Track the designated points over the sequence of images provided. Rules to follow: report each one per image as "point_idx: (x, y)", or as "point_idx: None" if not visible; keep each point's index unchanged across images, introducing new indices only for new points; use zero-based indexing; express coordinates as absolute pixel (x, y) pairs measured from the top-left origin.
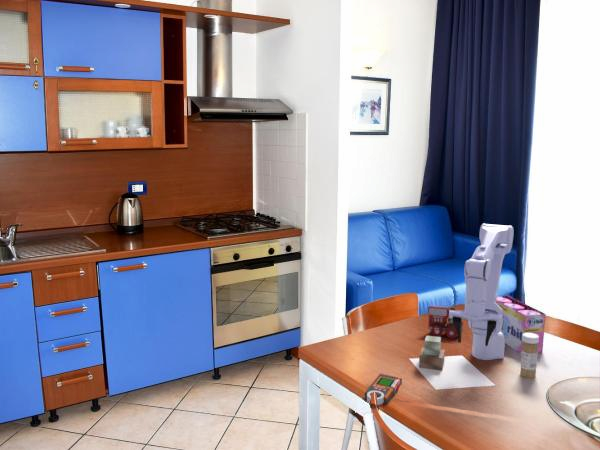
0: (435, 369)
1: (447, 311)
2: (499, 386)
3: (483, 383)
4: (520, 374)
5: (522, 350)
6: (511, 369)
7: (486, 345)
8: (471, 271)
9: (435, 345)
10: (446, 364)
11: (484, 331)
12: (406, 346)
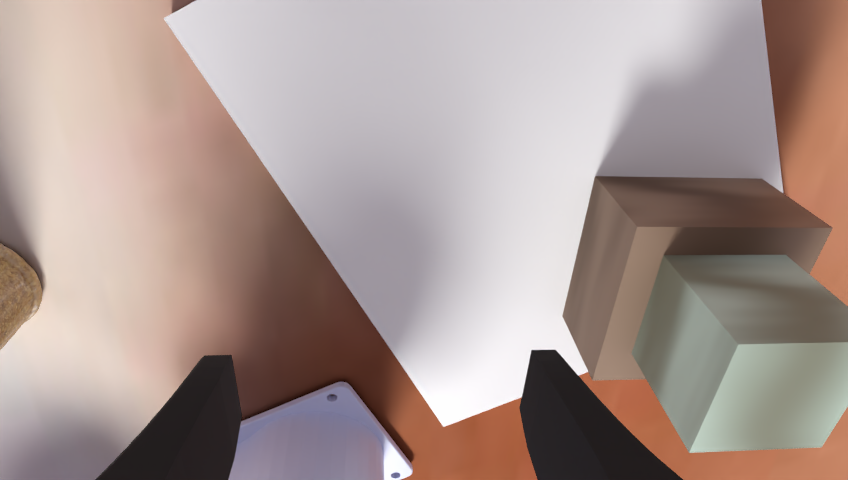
0: (645, 177)
1: None
2: (144, 60)
3: (269, 26)
4: (26, 282)
5: None
6: (126, 361)
7: (214, 359)
8: None
9: (754, 316)
10: (552, 283)
11: None
12: (743, 450)
